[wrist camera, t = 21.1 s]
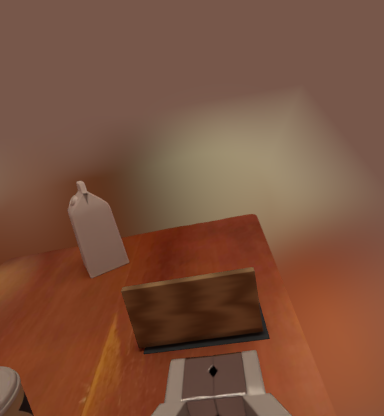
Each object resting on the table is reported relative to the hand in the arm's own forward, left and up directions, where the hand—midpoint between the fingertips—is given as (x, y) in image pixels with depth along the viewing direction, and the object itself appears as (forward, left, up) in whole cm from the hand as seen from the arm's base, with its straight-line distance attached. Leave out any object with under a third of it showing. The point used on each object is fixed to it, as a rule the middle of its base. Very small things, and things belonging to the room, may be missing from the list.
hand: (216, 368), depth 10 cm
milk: (+37, -69, -29) cm, 84 cm away
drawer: (+6, -39, -29) cm, 49 cm away
